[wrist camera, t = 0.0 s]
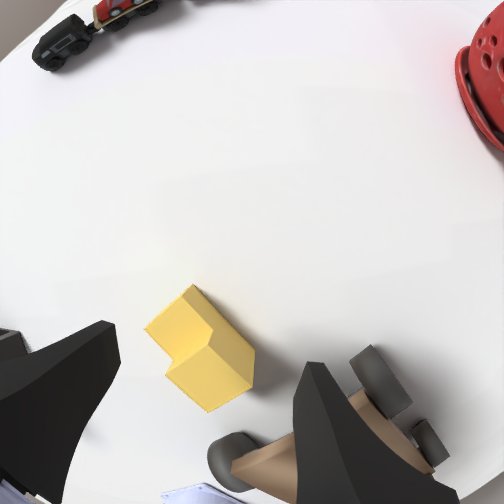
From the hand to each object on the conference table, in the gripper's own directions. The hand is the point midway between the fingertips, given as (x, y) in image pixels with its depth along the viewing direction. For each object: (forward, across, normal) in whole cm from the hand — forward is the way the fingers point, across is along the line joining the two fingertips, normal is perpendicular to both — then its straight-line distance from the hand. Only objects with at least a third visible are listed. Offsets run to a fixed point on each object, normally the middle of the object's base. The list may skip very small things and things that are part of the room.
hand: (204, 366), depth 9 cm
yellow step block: (+10, +2, +6) cm, 12 cm away
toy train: (+15, +13, -21) cm, 29 cm away
